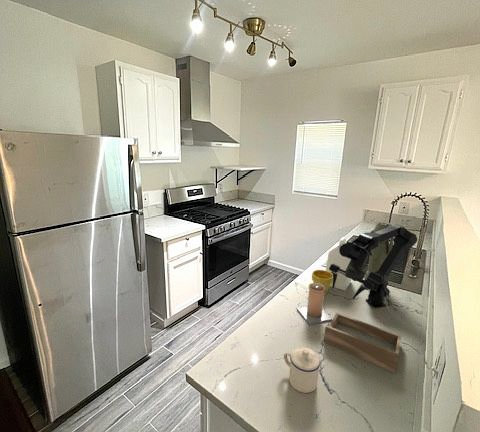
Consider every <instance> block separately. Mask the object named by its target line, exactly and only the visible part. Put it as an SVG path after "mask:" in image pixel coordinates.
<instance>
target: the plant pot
mask: <svg viewBox="0 0 480 432" xmlns="http://www.w3.org/2000/svg"><path fill="white" fill-rule="evenodd" d="M311 280H312V283H319V284H322V285H323V286H324V287H325V291H324V295H326V294H327V293H328V291H329V289H330V287H331V286H330V284H331V283H332V281H333V275H332V274H331V273H330V272H328V271H326V269H325V270H324V269H316V270H313V271H312V273H311Z"/></svg>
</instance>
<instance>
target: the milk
mask: <svg viewBox="0 0 480 432" xmlns="http://www.w3.org/2000/svg"><path fill="white" fill-rule="evenodd" d="M346 240H347V239H346V237H345V236H342V237H341V238H340V239H339V243H337V244H336V245H335V246H333V247H332V248H331V249H330V250H329V251H328V255H327V260H326V268H325V271H328V272H330V273H331V270H329V267H330V265H331V264H335V265H338V266H340V269H342V270H344V271H346V268H347V266H348V264H349V262H350V260H351V259H349V258H346V257H343V256H341V254H340V252H339V249H340V247H341V246H342V245H343V244H345V243H347V241H346ZM331 274H332V275H333V273H331ZM350 283H352V279H350V278H347V277H346V276H345V275H343V274H341V273H339V272H338V276H337V279H336V282H335V286H334V288H336V289H339V290H341V291H342V290H343V291H346V290H347V289H348V287H349V285H350ZM332 286H333V281H332V283H331V284H330V287H332Z"/></svg>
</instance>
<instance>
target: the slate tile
mask: <svg viewBox="0 0 480 432" xmlns="http://www.w3.org/2000/svg"><path fill="white" fill-rule="evenodd" d="M307 306H308V305H307ZM307 306H301V307H297V308H296V310H297V312H298V313H299V314H300V316H302V318H303V319H304V320H305V322H306V323H308V326H309V325H310V326H311V325H315V324H321V323H324V322H325V323H326V322H332V320H333V318H332V317H331V316H330V315H329V314H328V313H327V312H326V311H325V310H324V309H323V308H322V315H321V317H317V318H315V317H311V316H309V315H308V314H307Z"/></svg>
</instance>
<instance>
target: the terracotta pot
mask: <svg viewBox="0 0 480 432" xmlns="http://www.w3.org/2000/svg"><path fill="white" fill-rule="evenodd" d="M324 291H325V287H324V286H323V285H322V284H319V283H313V282H311V283H309V285H308V296H307V297H308V298H307V314H308V315H309V316H311V317H315V318H317V317H321V315H322V309H323V306H324V297H325V294H324Z"/></svg>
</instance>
